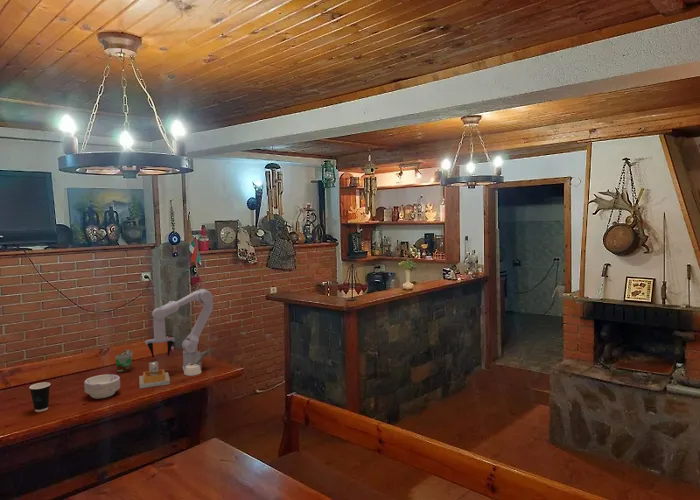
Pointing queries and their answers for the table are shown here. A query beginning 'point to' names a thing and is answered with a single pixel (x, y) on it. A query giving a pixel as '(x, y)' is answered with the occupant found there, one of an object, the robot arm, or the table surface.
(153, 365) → the spout can
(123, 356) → the food container
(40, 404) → the dixie cup
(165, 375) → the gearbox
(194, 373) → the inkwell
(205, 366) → the table surface
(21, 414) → the table surface
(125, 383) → the table surface
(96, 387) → the paper bowls
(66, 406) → the table surface
